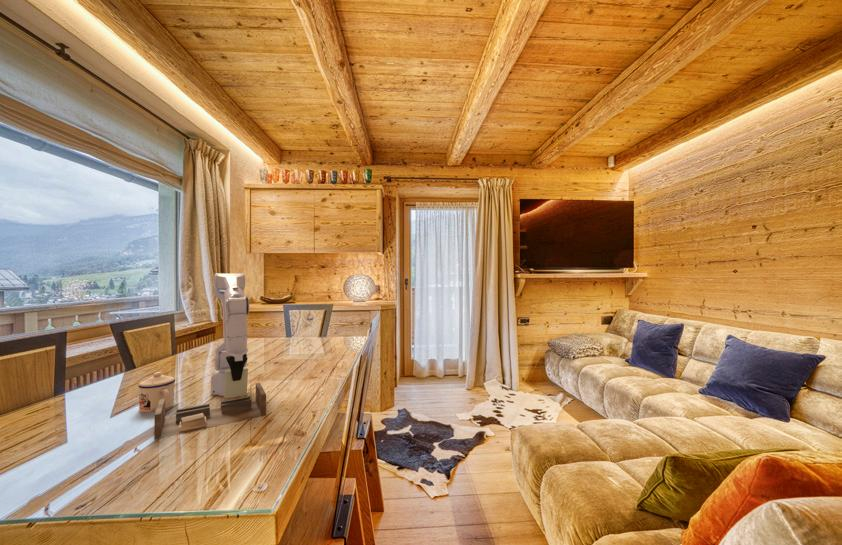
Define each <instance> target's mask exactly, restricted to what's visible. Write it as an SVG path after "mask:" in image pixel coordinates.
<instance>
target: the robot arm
mask: <svg viewBox="0 0 842 545" xmlns="http://www.w3.org/2000/svg"><path fill="white" fill-rule="evenodd" d="M245 287H246V275H245V274H244V272H241V273H218V272H216V273H215V274H214V275H213V288H214V289H213V290H214V296H215V298H217V299H219V300H220V302H221V305H222V331H223V332H222V333H223V334H222V335H223V342H222V343H221V344H220V345H219V346H216V349H215V350H214V359H213V360H214V361H213V362H214V370H215V371H214V372H213V373H212V374H211V377H210V395H214V396H221V397H224V394H225V374H226V371H227V370H231V375H232V379H233V381H238V380H241V377H242V373H243V369H245V367H246V366H247V365H248V316H249V314H250V298H249V297H248V296H245Z"/></svg>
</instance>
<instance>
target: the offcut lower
mask: <svg viewBox="0 0 842 545" xmlns="http://www.w3.org/2000/svg"><path fill="white" fill-rule="evenodd" d="M204 426H206V417H205V421H203V422H199V423H195V424H191V425H187V426H183V427H182V424H181V422H180V424H179V432H181V431H185V430H190V429H195V428H199V427H204Z"/></svg>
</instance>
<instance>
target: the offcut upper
mask: <svg viewBox="0 0 842 545" xmlns="http://www.w3.org/2000/svg"><path fill="white" fill-rule="evenodd" d="M203 421H205V416H204V414H203V413H200V414H196V415H192V416H187V417H183V418H181V424H182V427H183V426H187V425H191V424H195V423H199V422H203Z"/></svg>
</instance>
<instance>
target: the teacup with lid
mask: <svg viewBox="0 0 842 545" xmlns="http://www.w3.org/2000/svg"><path fill="white" fill-rule="evenodd" d="M175 381H176V379H175V377H174V376H167V375H165V374H162V372H161V371H156V372H154V373H153V375H152V376H150V377H148V378H146V379H144V380H142V381H140V382H139V384H138V388H139V389H138V390H139V391H138V394H139V395H138V397H139V400H138V401H139V402H138V406H139V407H138V408H139V409H138V410H139V412H141V413H150V412H151V413H152V412H156V409H157V406H158V403H159V400H160V399H163V398H165V410H166V409H168V408H171V407H172V406H174V405H175Z"/></svg>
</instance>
